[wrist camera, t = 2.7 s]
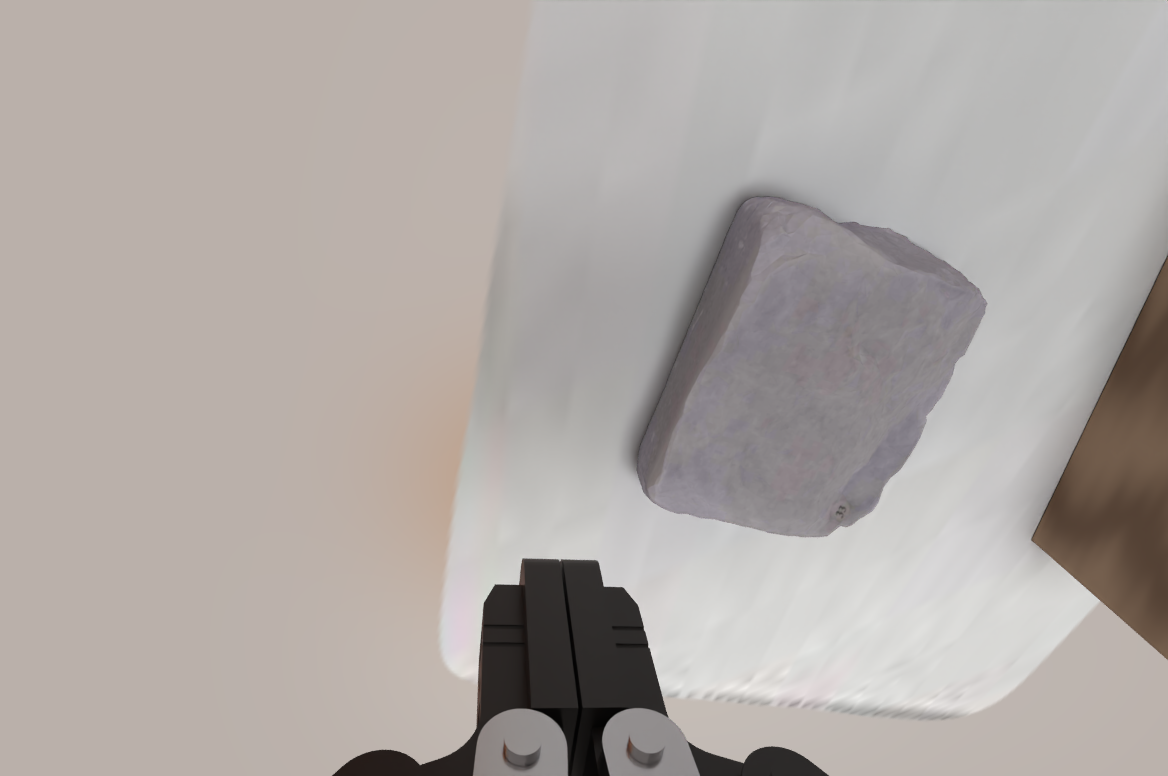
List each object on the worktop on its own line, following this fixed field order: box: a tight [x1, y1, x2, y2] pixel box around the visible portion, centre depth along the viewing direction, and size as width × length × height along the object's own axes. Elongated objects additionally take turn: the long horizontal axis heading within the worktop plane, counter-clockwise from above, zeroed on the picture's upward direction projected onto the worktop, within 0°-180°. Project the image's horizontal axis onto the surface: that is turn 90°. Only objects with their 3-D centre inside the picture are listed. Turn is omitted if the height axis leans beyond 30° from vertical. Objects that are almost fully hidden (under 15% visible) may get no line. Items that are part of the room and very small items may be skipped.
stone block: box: [637, 197, 987, 537], centre depth 25 cm, size 12×5×10 cm
